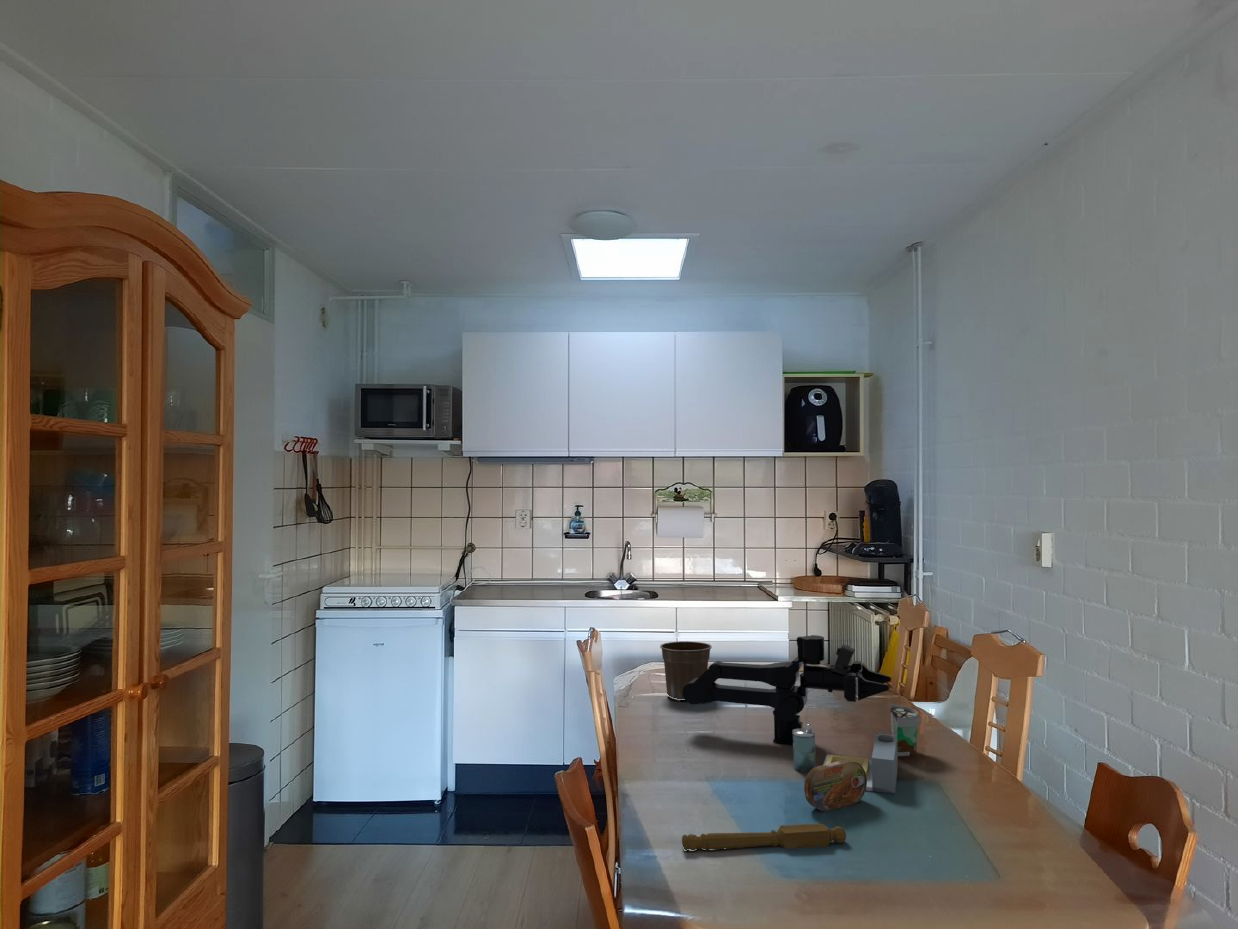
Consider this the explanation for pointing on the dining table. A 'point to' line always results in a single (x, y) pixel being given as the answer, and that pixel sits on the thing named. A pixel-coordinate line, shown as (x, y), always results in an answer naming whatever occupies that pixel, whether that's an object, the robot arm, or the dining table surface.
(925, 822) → the dining table surface
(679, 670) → the plant pot
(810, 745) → the spout can
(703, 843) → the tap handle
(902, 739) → the food container
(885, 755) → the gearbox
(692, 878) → the dining table surface
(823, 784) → the tin
